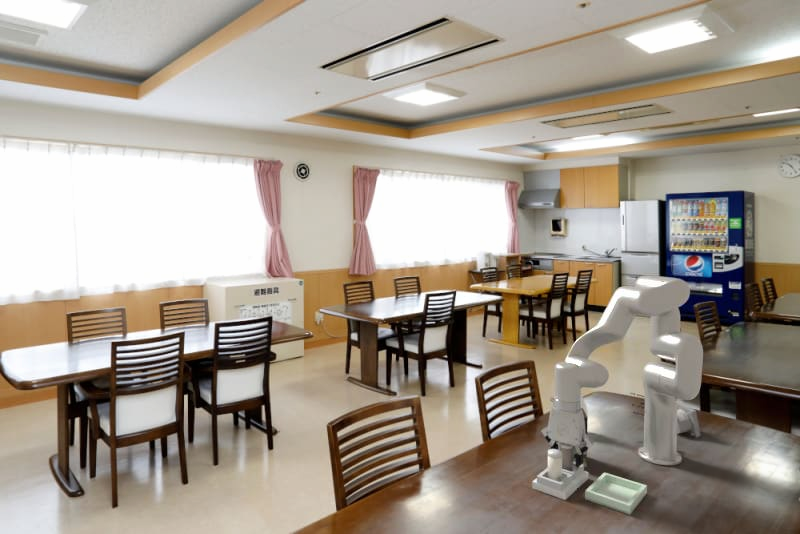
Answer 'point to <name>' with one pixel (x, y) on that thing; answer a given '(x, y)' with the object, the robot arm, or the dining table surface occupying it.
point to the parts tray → (616, 493)
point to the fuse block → (559, 477)
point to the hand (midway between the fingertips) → (566, 461)
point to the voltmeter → (684, 419)
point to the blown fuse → (567, 456)
